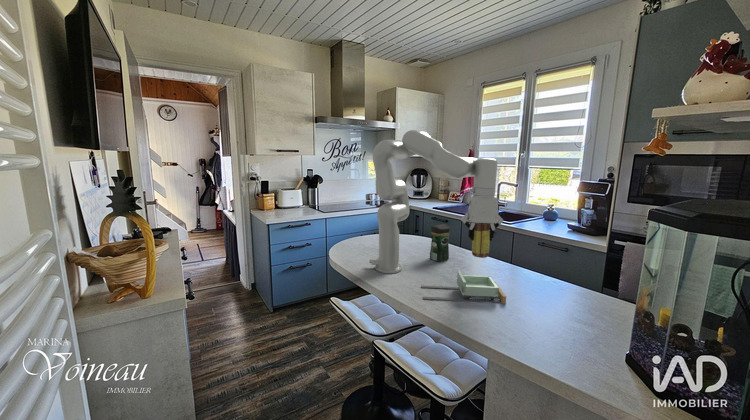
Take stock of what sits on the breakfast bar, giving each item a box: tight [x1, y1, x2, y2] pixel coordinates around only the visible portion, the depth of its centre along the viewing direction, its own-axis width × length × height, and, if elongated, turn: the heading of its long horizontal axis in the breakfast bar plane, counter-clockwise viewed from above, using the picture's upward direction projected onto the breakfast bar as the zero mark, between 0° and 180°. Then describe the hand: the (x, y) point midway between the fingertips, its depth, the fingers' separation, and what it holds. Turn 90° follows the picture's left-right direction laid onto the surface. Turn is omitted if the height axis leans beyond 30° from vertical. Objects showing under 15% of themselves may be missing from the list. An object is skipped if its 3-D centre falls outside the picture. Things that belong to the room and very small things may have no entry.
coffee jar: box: [429, 223, 451, 263], centre depth 156 cm, size 10×8×19 cm
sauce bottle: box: [471, 223, 491, 259], centre depth 113 cm, size 7×6×20 cm
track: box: [420, 281, 507, 305], centre depth 118 cm, size 30×13×3 cm, turn 86°
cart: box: [456, 270, 500, 300], centre depth 117 cm, size 13×11×7 cm
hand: (480, 239), depth 114 cm, fingers closed on sauce bottle, 6 cm apart
